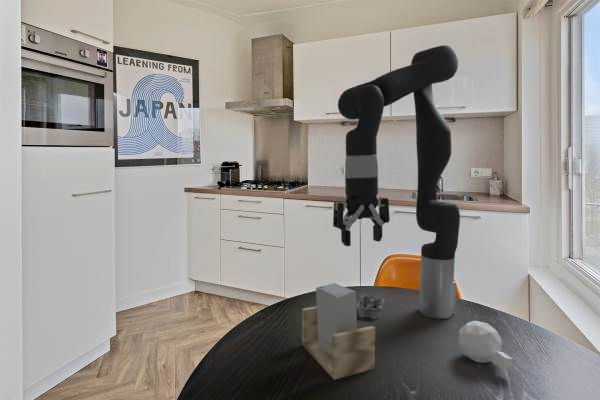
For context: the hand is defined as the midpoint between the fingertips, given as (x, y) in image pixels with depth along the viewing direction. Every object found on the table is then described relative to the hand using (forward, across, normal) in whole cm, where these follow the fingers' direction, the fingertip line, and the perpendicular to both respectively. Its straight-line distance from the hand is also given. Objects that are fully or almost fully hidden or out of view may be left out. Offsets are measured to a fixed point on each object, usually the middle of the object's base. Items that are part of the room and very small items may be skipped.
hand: (362, 243), depth 88 cm
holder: (+25, +9, +2) cm, 27 cm away
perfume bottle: (+26, -19, +18) cm, 37 cm away
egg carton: (+26, -13, -16) cm, 33 cm away
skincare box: (+24, +9, +2) cm, 26 cm away
